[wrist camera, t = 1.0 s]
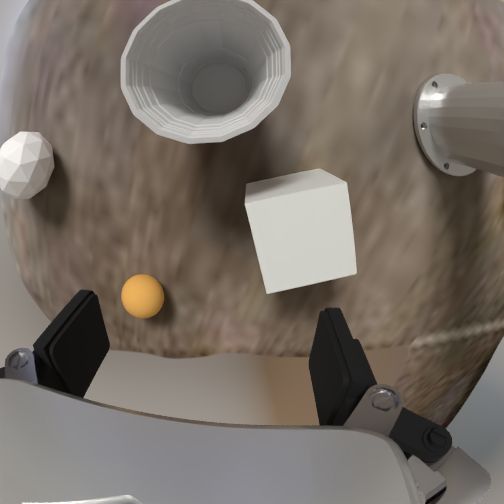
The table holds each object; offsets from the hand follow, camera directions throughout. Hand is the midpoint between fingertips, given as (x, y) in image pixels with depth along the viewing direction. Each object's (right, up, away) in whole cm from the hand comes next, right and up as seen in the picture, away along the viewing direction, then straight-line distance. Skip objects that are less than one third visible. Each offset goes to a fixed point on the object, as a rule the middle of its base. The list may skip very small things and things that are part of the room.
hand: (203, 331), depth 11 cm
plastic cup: (-1, +19, +14) cm, 24 cm away
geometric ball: (-24, +14, +16) cm, 32 cm away
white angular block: (+6, +7, +19) cm, 21 cm away
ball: (-10, -2, +20) cm, 23 cm away
